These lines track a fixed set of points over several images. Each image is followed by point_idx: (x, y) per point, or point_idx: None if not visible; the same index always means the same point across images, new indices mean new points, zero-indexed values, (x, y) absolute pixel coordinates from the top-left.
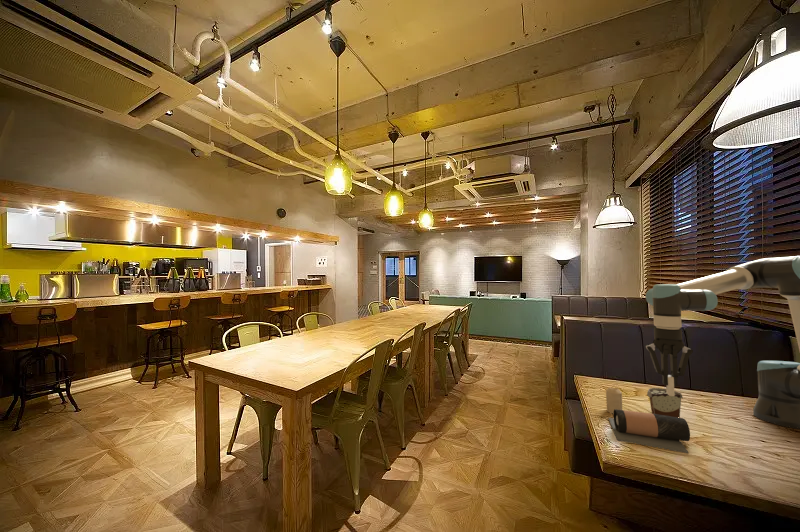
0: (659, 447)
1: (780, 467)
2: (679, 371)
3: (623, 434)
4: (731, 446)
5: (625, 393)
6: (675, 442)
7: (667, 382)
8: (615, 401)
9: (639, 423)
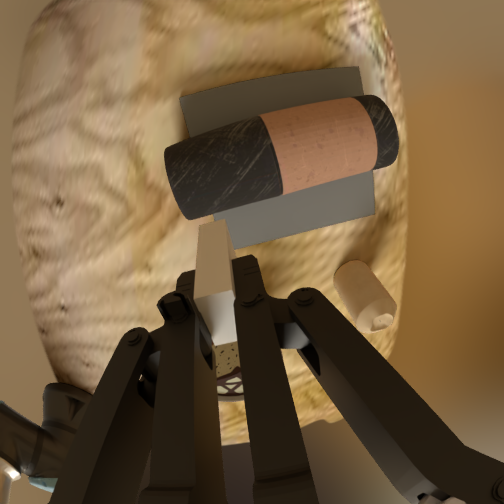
0: (251, 80)
1: (24, 184)
2: (155, 374)
3: None
4: (94, 234)
5: (307, 393)
6: None
7: (235, 270)
8: (366, 283)
9: (319, 106)
